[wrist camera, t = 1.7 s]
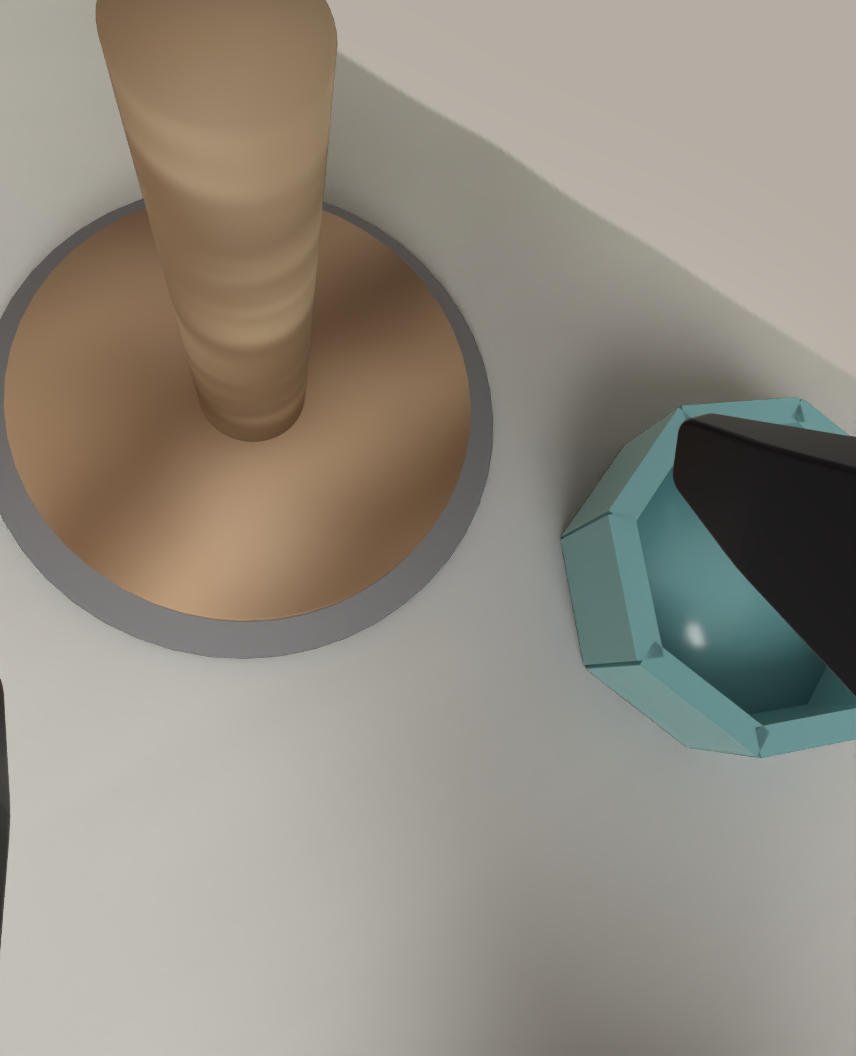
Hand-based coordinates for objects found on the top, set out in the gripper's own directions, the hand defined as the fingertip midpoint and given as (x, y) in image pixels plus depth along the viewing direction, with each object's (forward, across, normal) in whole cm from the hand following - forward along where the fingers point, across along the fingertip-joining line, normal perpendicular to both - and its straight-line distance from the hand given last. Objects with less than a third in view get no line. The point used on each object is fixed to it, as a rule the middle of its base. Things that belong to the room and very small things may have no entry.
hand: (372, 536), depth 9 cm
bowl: (+7, -13, +11) cm, 18 cm away
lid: (+14, 0, +4) cm, 14 cm away
